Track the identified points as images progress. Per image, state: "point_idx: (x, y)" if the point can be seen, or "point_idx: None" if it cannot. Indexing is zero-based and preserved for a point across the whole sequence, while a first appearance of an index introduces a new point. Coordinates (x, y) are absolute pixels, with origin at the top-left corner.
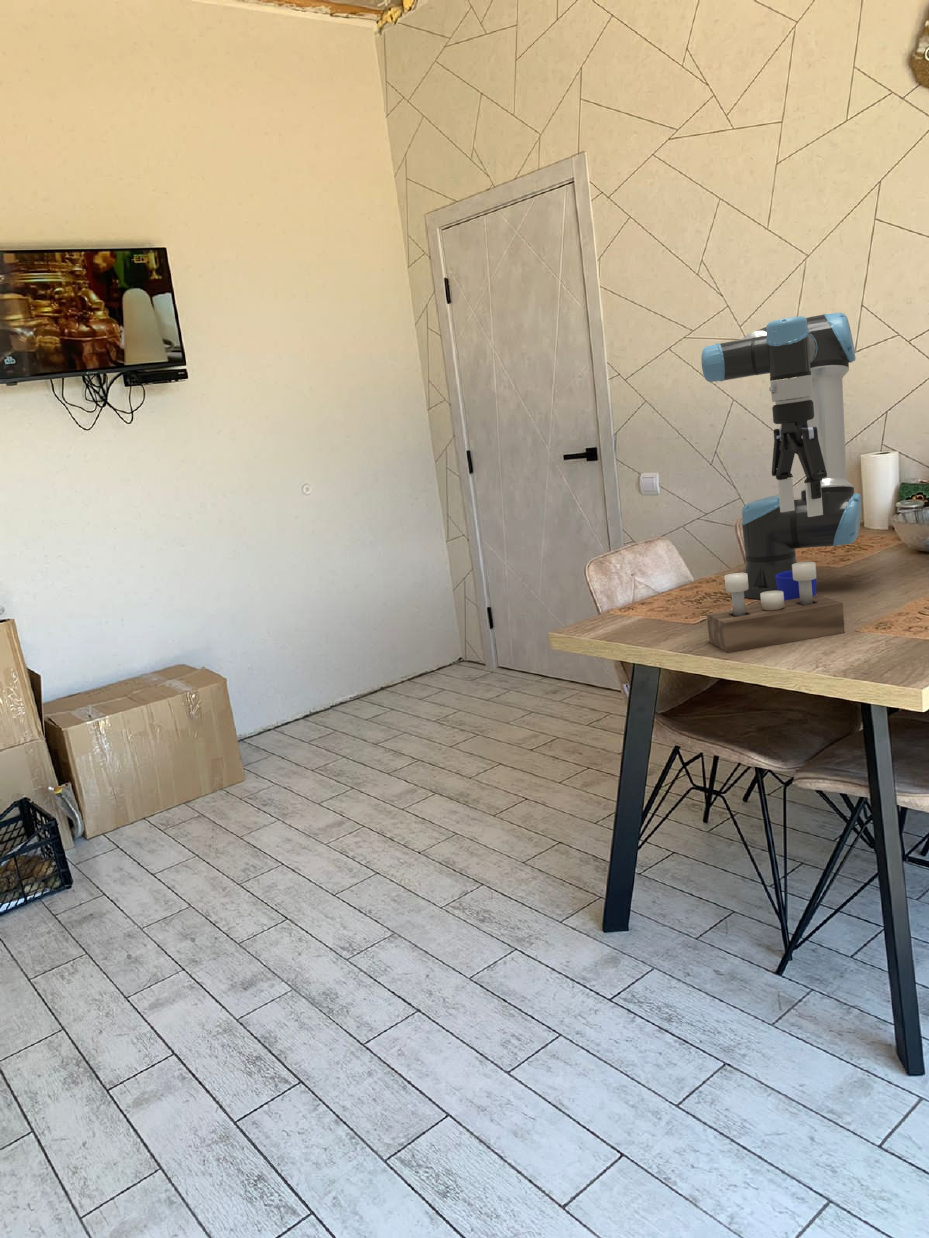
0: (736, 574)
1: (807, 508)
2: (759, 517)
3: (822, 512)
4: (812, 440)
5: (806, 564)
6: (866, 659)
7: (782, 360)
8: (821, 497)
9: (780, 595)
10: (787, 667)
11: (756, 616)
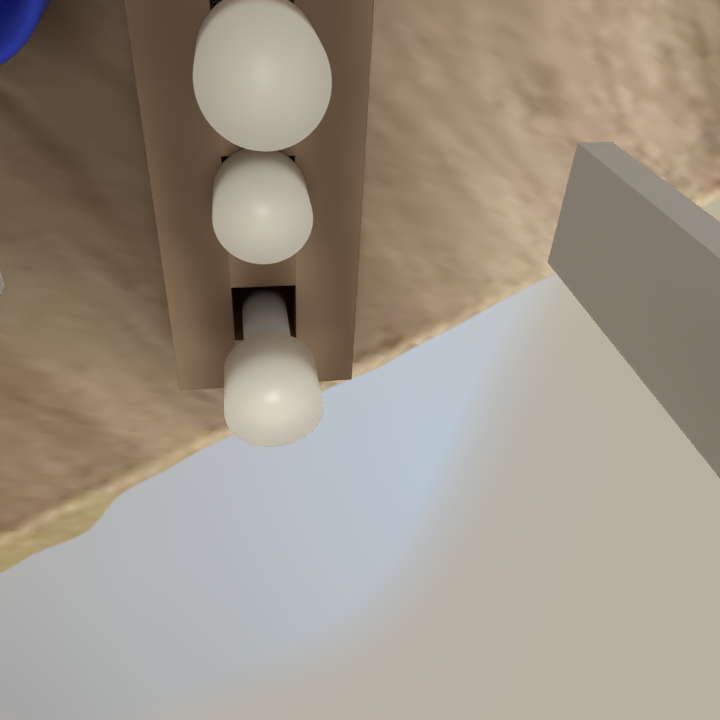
0: (261, 406)
1: (584, 299)
2: None
3: (623, 154)
4: None
5: (297, 81)
6: (687, 32)
7: None
8: (709, 218)
9: (308, 197)
10: None
11: (341, 281)
